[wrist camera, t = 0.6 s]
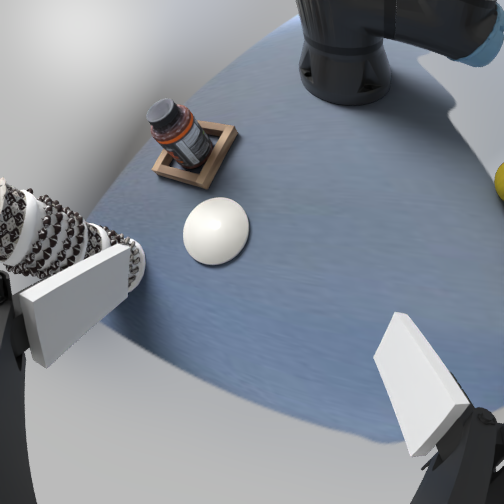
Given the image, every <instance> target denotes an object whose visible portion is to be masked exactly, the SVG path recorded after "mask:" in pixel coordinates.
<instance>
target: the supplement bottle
mask: <svg viewBox="0 0 504 504" xmlns="http://www.w3.org/2000/svg"><path fill="white" fill-rule="evenodd" d="M146 117H147V120H148V121H149V123H150V124H151V134H152V136H153V138H154V139H155V140H156V141H157V142H158V143H159V144H160V145H161V146H162V147H163V148H164V149H165V150H166V151H167V152H168V153H169V154H170V155H171V156H172V157H173V158H174V159H175V160H176V161H177V162H178V164H180V165H181V166H182V167H184V168H188V169H193V168H197V167H199V166H201V165H202V164H204V163H205V162H206V161H207V160H208V158H209V156H210V154H211V152H212V150H213V146H212V142H211V141H210V139H209V137H208V136H207V134H206V133H205V132H204V130H203V129H202V127H201V126H200V124H199V123H198V121H197V120H196V119H195V117H194V116H193V114H192V113H191V112H190V110H189V109H188V108H187V107H185V106H183V105H176V104H175V103H174V101H173V100H172V99H169V98H166V99H162V100H159V101H157V102H156V103H155V104H153V105H152V106H151V108H150V109H149V110H148V112H147V116H146Z"/></svg>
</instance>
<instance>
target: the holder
mask: <svg viewBox="0 0 504 504" xmlns="http://www.w3.org/2000/svg"><path fill="white" fill-rule="evenodd" d="M197 121H198V120H197ZM198 123H199V124H200V126H201V127H202V129H203V130H204V132H205V133H206V134H210V135H215V136H220V138H219V140H218V142H217V143H216V145H215V147H214V149H213V151H212V152H211V154H210V156H209V158H208V160H207V161H206V163H205V165H204V167H203V169H202V171H201V172H200V174H196V173H192V172H188V171H185V170H181V169H177V168H173V167H169V164H170V162H171V161H172V159H173V157H172V156H171V155H170V154H169V153H168V152H167V151H166V150H165V149H163V150H162V152H161V154H160V156H159V157H158V159H157V161H156V163H155V164H154V166H153V168H152V171H154V172H155V173H156V174H157V175H160V176H163V177H167V178H170V179H174V180H177V181H181V182H184V183H187V184H191V185H194V186H197V187H201V188H204V189H207V190H208V188H209V186H210V184H211V182H212V180H213V178H214V176H215V175H216V173H217V171H218V169H219V167H220V165H221V163H222V161H223V159H224V158H225V156H226V154H227V152H228V150H229V148H230V147H231V145H232V143H233V141H234V139H235V138H236V136H237V134H238V132H237V130H236V128H235V126H231V125H225V124H219V123H212V122H206V121H198Z"/></svg>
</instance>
